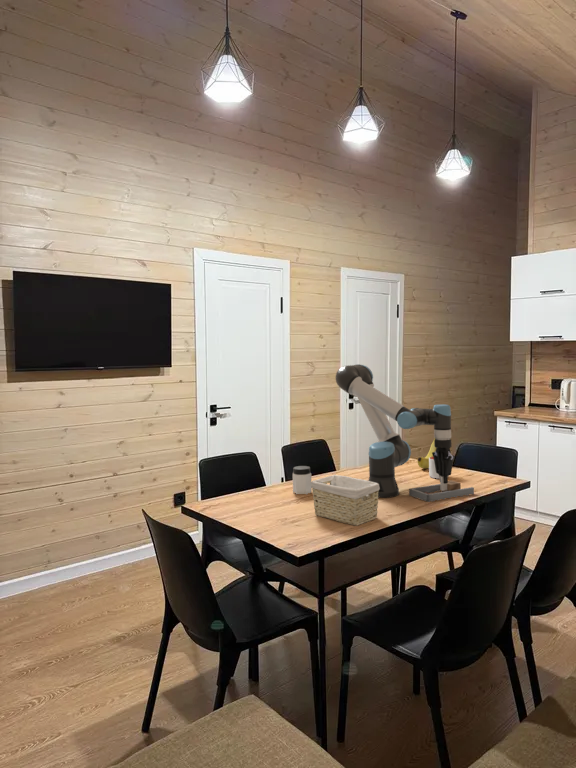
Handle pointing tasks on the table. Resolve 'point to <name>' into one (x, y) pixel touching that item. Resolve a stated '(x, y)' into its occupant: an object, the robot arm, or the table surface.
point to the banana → (425, 461)
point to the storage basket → (345, 499)
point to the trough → (425, 492)
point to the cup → (433, 469)
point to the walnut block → (452, 486)
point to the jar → (302, 480)
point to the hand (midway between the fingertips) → (443, 489)
